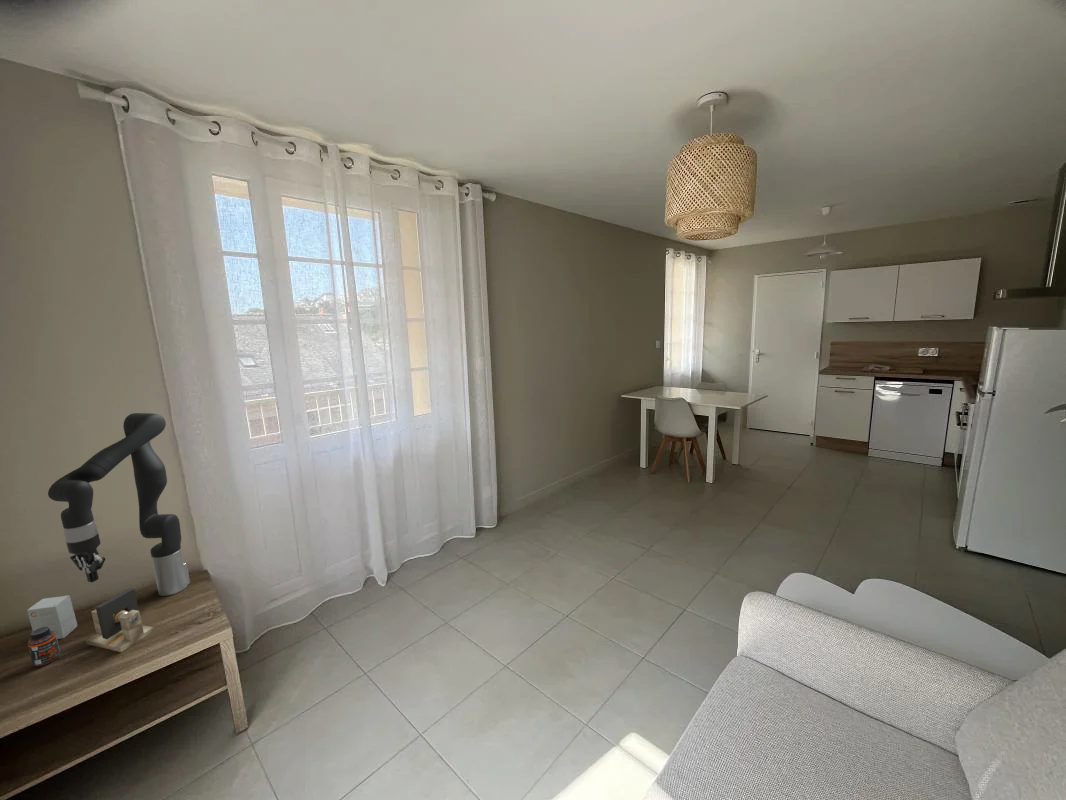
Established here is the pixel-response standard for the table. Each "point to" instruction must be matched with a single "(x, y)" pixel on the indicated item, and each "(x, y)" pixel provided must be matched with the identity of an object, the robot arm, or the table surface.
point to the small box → (53, 615)
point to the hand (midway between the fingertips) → (93, 580)
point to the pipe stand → (126, 636)
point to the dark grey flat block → (115, 611)
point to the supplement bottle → (43, 646)
